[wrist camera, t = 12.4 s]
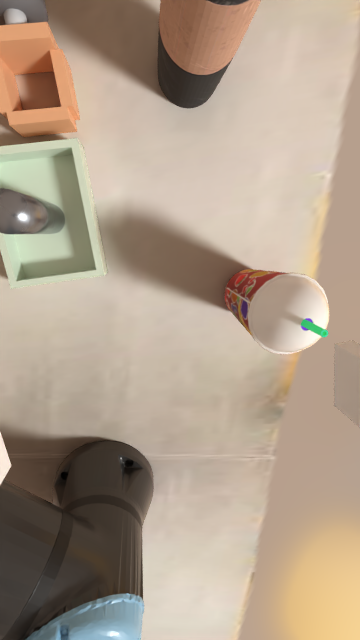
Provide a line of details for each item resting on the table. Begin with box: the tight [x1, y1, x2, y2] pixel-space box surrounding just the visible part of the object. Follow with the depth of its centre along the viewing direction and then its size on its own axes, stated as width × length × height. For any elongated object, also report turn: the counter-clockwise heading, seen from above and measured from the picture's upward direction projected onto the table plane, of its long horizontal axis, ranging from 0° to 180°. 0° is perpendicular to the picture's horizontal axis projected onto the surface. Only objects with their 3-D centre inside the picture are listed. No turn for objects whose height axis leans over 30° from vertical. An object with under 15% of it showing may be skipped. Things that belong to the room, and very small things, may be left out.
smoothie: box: [224, 269, 329, 354], centre depth 35 cm, size 8×8×20 cm
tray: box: [0, 138, 107, 289], centre depth 37 cm, size 15×11×4 cm
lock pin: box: [0, 188, 65, 234], centre depth 32 cm, size 4×4×13 cm
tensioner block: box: [0, 0, 80, 137], centre depth 31 cm, size 10×7×8 cm
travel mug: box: [158, 0, 261, 108], centre depth 27 cm, size 8×8×20 cm
